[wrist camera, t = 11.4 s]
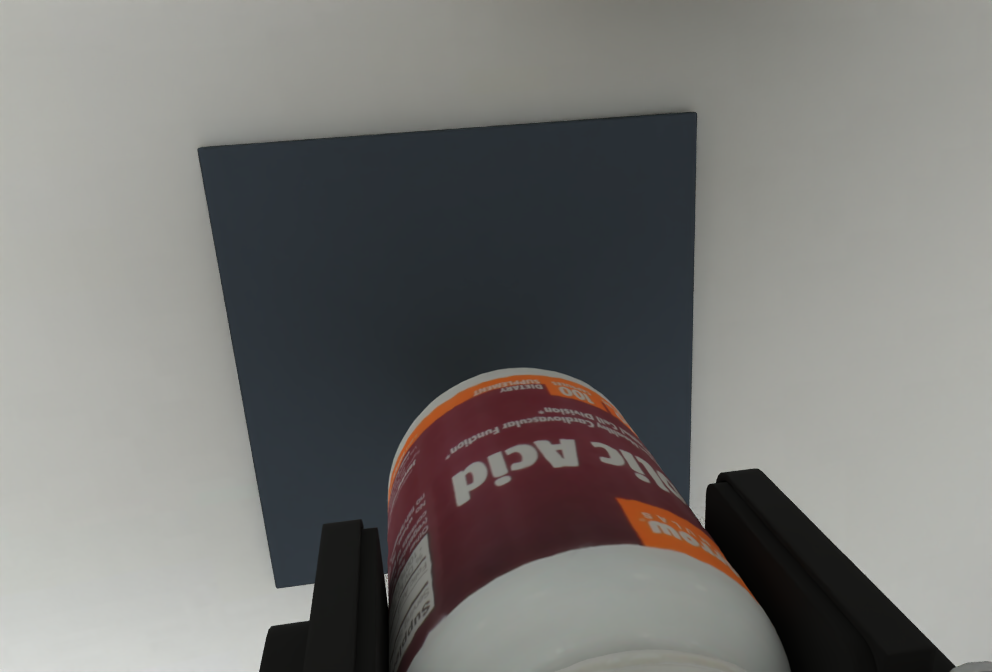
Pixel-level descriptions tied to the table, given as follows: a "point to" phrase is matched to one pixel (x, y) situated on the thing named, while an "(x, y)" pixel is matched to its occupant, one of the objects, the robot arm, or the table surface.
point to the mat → (446, 293)
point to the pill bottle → (554, 544)
